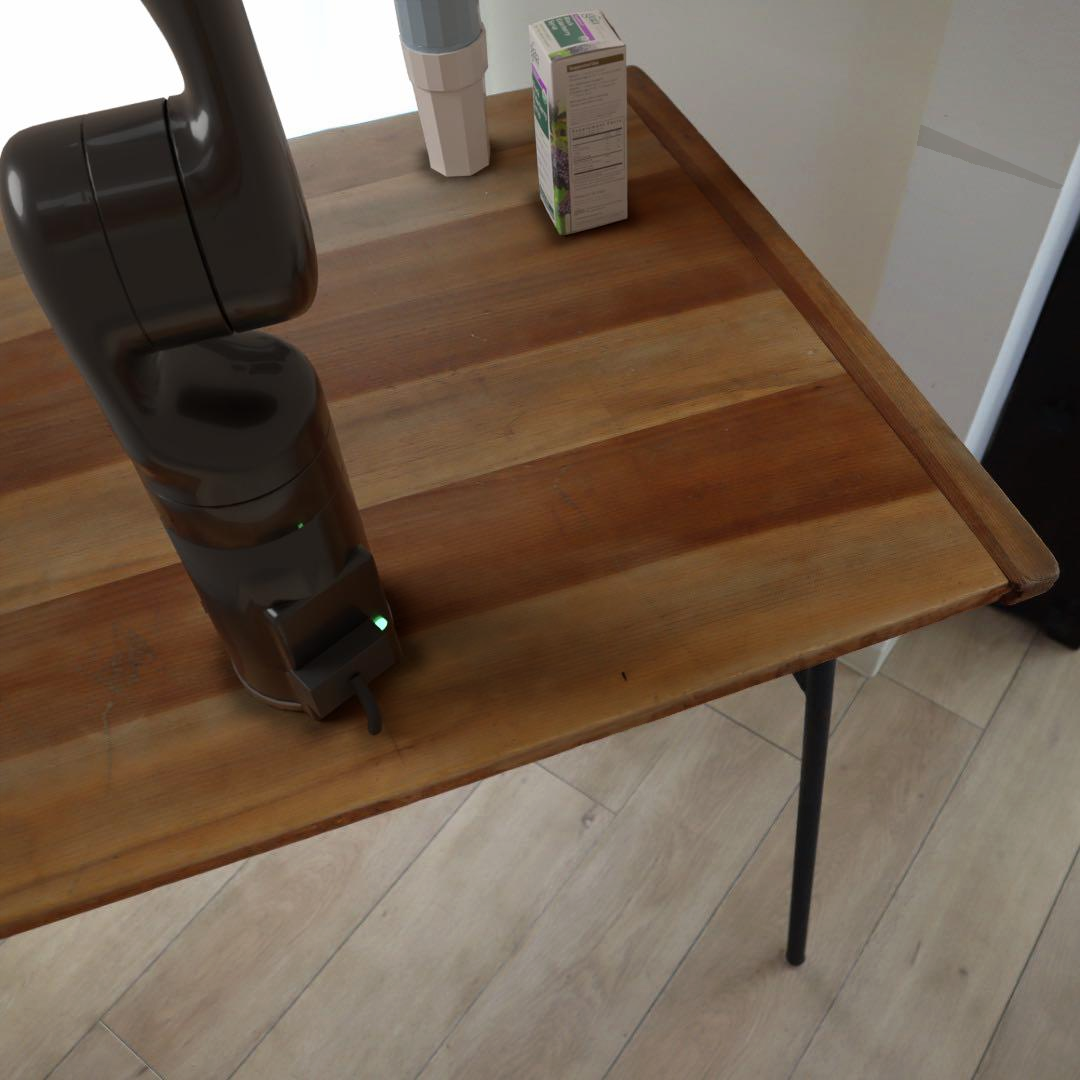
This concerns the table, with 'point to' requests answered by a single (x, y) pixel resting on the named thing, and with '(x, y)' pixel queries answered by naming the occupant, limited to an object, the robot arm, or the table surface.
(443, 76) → the cup
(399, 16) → the glass
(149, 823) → the table surface
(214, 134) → the robot arm
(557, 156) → the syrup box
